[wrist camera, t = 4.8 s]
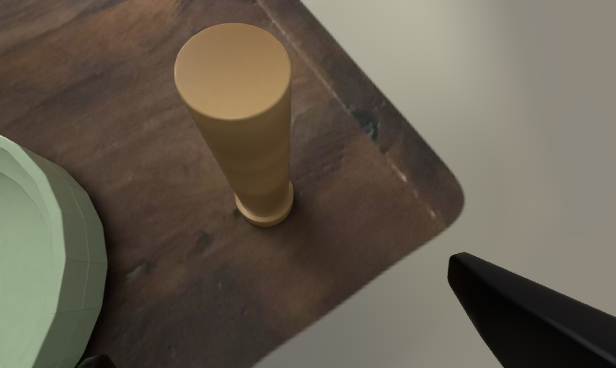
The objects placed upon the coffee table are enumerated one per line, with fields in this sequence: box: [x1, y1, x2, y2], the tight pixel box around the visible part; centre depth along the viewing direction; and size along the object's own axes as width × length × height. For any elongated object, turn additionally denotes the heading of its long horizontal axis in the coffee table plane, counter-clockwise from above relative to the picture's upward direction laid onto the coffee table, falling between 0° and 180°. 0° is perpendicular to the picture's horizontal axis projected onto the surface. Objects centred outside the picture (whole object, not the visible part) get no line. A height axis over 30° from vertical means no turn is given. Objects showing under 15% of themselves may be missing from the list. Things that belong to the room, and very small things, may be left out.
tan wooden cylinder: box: [174, 23, 294, 227], centre depth 15 cm, size 4×4×14 cm
